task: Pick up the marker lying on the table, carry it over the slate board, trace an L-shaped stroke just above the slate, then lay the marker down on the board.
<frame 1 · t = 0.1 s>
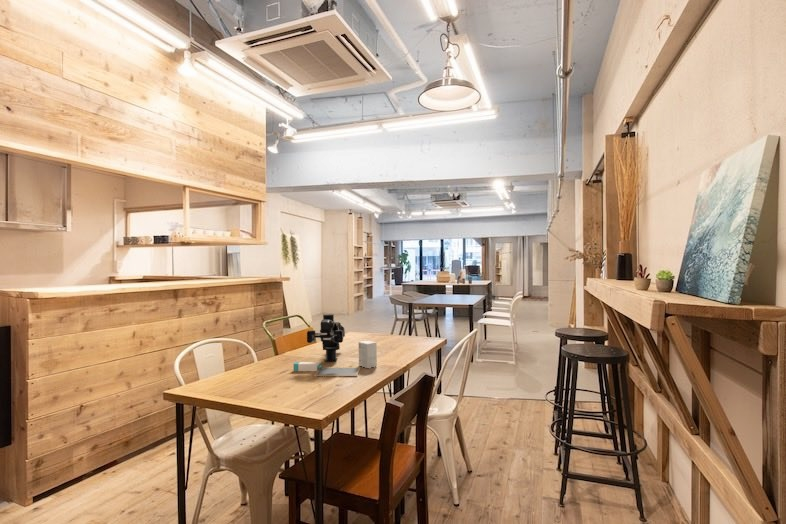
hand: (321, 339, 214), 17 cm above the table, tool horizontal, fingers open, 9 cm apart
small box: (367, 367, 225), on the table
slate board: (337, 372, 214), on the table
marker: (306, 370, 218), on the table
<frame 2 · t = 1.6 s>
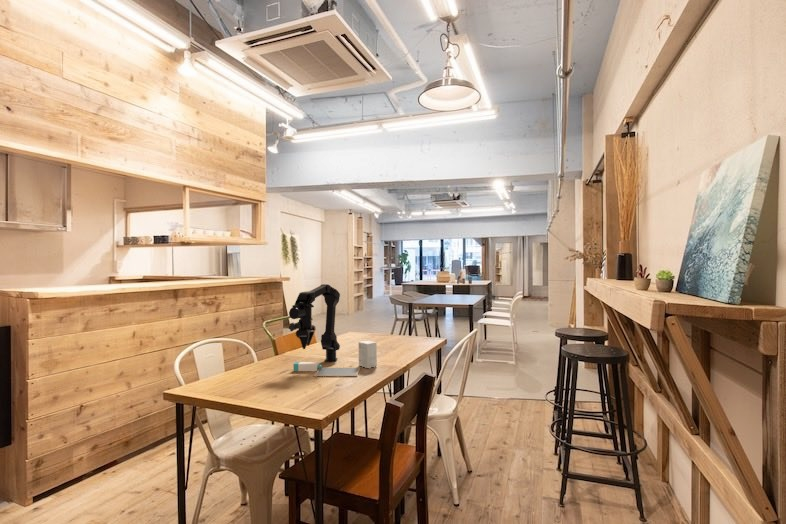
hand: (306, 347, 218), 12 cm above the table, tool pointing down, fingers open, 9 cm apart
nothing on the table moved.
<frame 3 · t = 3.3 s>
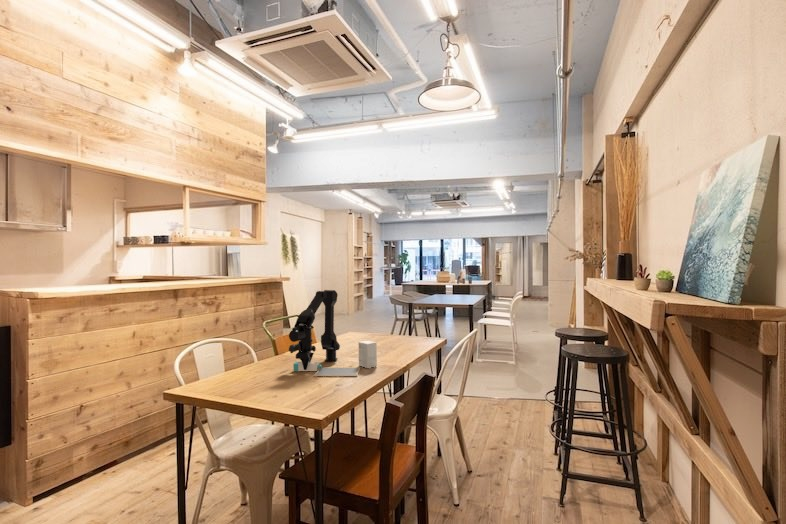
hand: (306, 368, 218), 1 cm above the table, tool pointing down, fingers closed on marker, 4 cm apart
marker: (306, 370, 218), on the table, touching gripper
everything else where it was.
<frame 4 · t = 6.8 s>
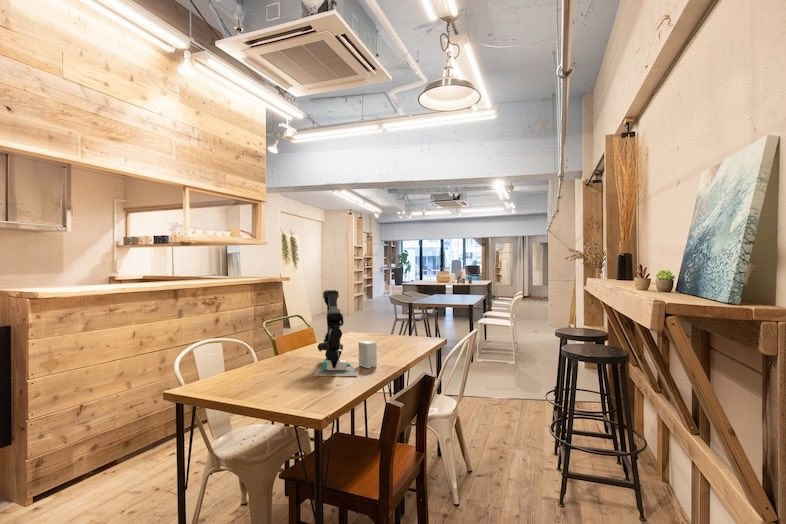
hand: (334, 367, 216), 2 cm above the table, tool pointing down, fingers closed on marker, 4 cm apart
marker: (334, 369, 216), point 1 cm above the table, touching gripper
everything else where it was.
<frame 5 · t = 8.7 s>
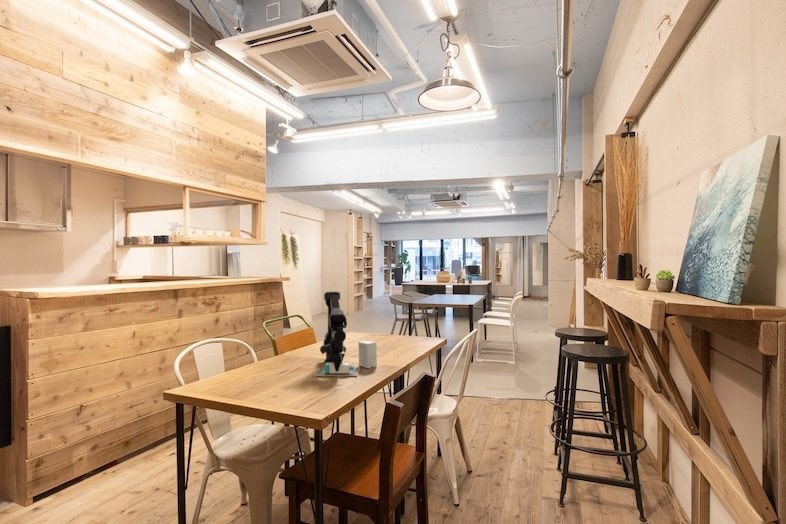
hand: (337, 370, 211), 2 cm above the table, tool pointing down, fingers closed on marker, 4 cm apart
marker: (337, 372, 211), point 1 cm above the table, touching gripper
everything else where it was.
when the fingers open (2 cm above the table, at t = 10.4 s): marker stays where it is, resting on slate board.
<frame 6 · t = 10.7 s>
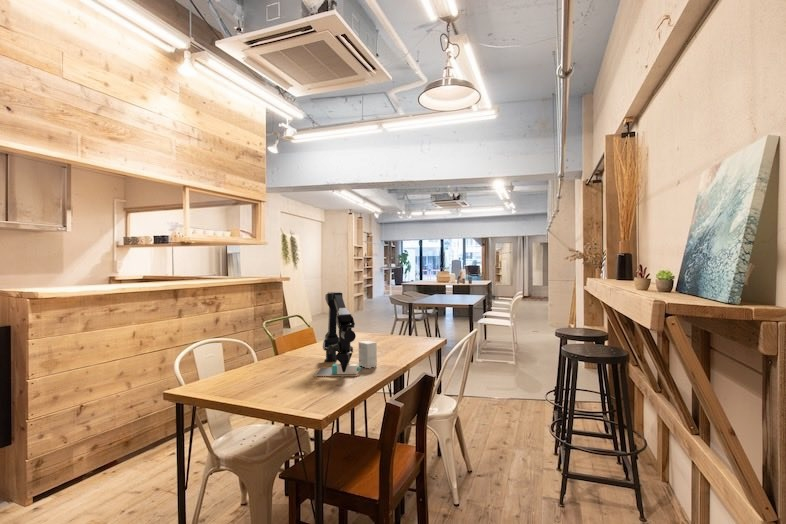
hand: (344, 370, 211), 2 cm above the table, tool pointing down, fingers open, 7 cm apart
marker: (344, 372, 211), point 1 cm above the table, touching slate board
everything else where it was.
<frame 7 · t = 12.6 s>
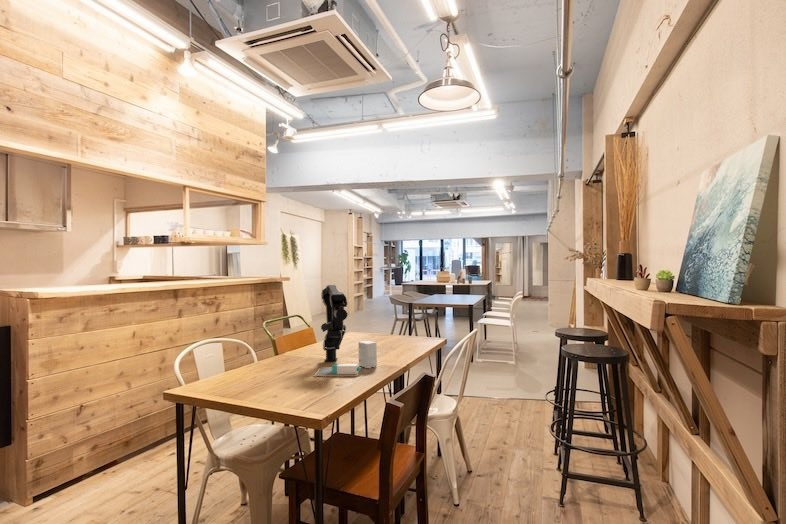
hand: (337, 347, 221), 11 cm above the table, tool pointing down, fingers open, 9 cm apart
nothing on the table moved.
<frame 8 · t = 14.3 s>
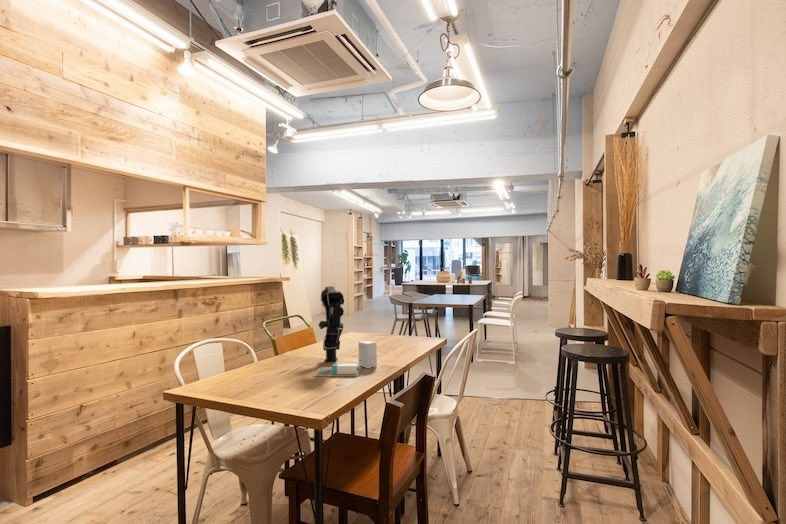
hand: (335, 344, 225), 12 cm above the table, tool pointing down, fingers open, 9 cm apart
nothing on the table moved.
at the end: marker inside the target area on the slate board (5.0 cm from its centre), point 0.7 cm above the slate board's base; marker moved 22.1 cm from its start; the gripper is holding nothing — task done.
